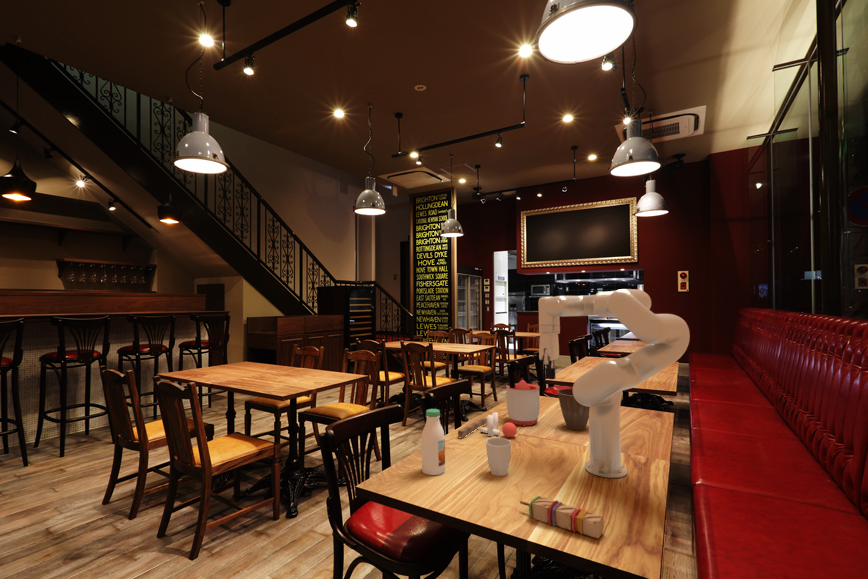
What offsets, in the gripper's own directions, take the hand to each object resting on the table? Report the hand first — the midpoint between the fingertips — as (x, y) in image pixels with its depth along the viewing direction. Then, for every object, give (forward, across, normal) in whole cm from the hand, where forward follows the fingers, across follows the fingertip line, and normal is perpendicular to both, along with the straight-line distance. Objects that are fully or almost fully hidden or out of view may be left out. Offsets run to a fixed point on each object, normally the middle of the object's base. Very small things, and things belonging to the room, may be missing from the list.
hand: (550, 378), depth 153 cm
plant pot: (+27, -35, 0) cm, 44 cm away
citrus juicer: (+27, -32, -24) cm, 48 cm away
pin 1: (+27, -6, -28) cm, 39 cm away
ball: (+24, -8, -20) cm, 33 cm away
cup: (+27, +28, -9) cm, 40 cm away
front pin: (+26, -8, -25) cm, 37 cm away
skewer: (+28, +49, +16) cm, 58 cm away
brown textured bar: (+27, -8, -37) cm, 47 cm away
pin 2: (+27, -10, -28) cm, 40 cm away
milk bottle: (+27, +38, -28) cm, 55 cm away
